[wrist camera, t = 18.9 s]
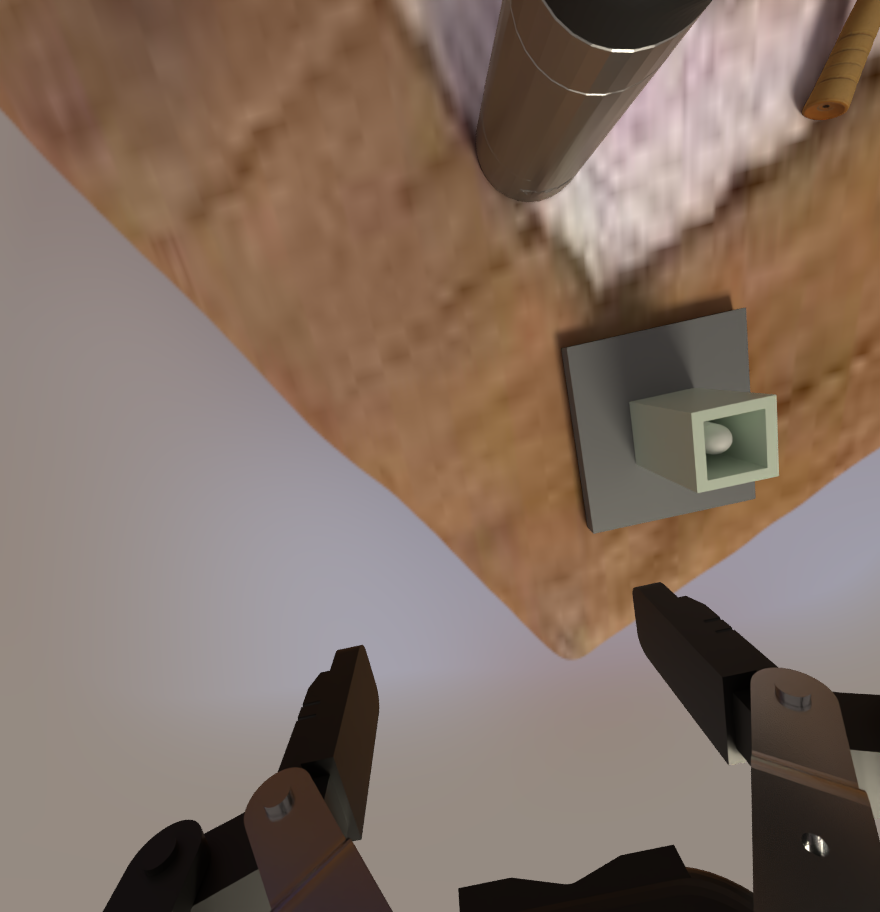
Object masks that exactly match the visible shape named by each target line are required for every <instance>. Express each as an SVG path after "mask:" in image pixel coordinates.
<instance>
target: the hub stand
mask: <svg viewBox="0 0 880 912" xmlns="http://www.w3.org/2000/svg"><path fill="white" fill-rule="evenodd" d="M561 350H562V357H563V364H564V370H565V377H566V384H567V391H568V397H569V404H570V411H571V418H572V424H573V431H574V438H575V445H576V451H577V458H578V465H579V472H580V478H581V485H582V492H583V499H584V505H585V512H586V519H587V526H588V528H589V529H590V530H591V531H592V532H593V533H599V532H603V531H608V530H613V529H617V528H622V527H627V526H631V525H636V524H640V523H645V522H650V521H654V520H659V519H664V518H668V517H673V516H678V515H682V514H687V513H691V512H696V511H701V510H705V509H710V508H715V507H719V506H724V505H728V504H733V503H738V502H742V501H747V500H752V499H755V481H753V482H748V483H744V484H739V485H734V486H730V487H725V488H720V489H715V490H711V491H706V492H701V493H696V492H694V491H692V490H689V489H687V488H685V487H683V486H681V485H679V484H677V483H675V482H673V481H670V480H668V479H666V478H664V477H662V476H660V475H658V474H656V473H654V472H651V471H649V470H647V469H645V468H643V467H641V466H639V465H637V464H636V458H635V449H634V440H633V431H632V422H631V414H630V405H629V402H631V401H636V400H640V399H645V398H649V397H654V396H659V395H663V394H668V393H673V392H677V391H682V390H686V389H691V388H702V389H714V390H726V391H738V392H750V380H749V360H748V340H747V320H746V308H741V309H736V310H731V311H726V312H722V313H717V314H713V315H709V316H704V317H700V318H695V319H691V320H686V321H682V322H677V323H673V324H668V325H664V326H659V327H655V328H650V329H646V330H642V331H637V332H633V333H628V334H624V335H619V336H615V337H610V338H606V339H601V340H597V341H592V342H588V343H583V344H579V345H575V346H570V347H566V348H561ZM703 424H704V438H705V451H706V454H711V455H716V454H720V453H723V452H725V451H726V450H727V449H728V448H729V447H730V446H731V444H732V434H731V432H730V430H729V429H728V428H726V427H725V426H723V425H720V424H716V423H711V422H706V421H705V422H703Z"/></svg>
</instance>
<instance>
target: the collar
mask: <svg viewBox="0 0 880 912" xmlns="http://www.w3.org/2000/svg"><path fill="white" fill-rule="evenodd" d="M629 405H630V414H631V422H632V431H633V440H634V449H635V458H636V464H637V465H639V466H641V467H643V468H645V469H647V470H649V471H651V472H654V473H656V474H658V475H660V476H662V477H664V478H666V479H668V480H670V481H673V482H675V483H677V484H679V485H681V486H683V487H685V488H687V489H689V490H692V491H694V492H696V493H701V492H706V491H711V490H715V489H720V488H725V487H730V486H734V485H739V484H744V483H748V482H753V481H758V480H762V479H767V478H772V477H776V476H779V463H778V432H777V401H776V395H774V394H762V393H750V392H738V391H726V390H714V389H702V388H691V389H686V390H682V391H677V392H673V393H668V394H663V395H659V396H654V397H649V398H645V399H640V400H636V401H631V402H629ZM705 421H706V422H711V423H716V424H720V425H723V426H725V427H726V428H728V429H729V430H730V432H731V434H732V444H731V446H730V447H729V448H728V449H727V450H726V451H725V452H723V453H720V454H716V455H711V454H706V451H705V438H704V424H703V422H705Z"/></svg>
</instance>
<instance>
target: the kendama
mask: <svg viewBox="0 0 880 912" xmlns="http://www.w3.org/2000/svg"><path fill="white" fill-rule="evenodd" d="M879 27H880V0H857V2H856V3H855V5H854V7H853V9H852V11H851V13H850V15H849V17H848V19H847V21H846V23H845V25H844V27H843V29H842V31H841V33H840V35H839V37H838V39H837V41H836V44H835V46H834V48H833V50H832V52H831V54H830V56H829V58H828V60H827V62H826V64H825V66H824V68H823V70H822V73H821V75H820V76H819V78H818V81H817V83H816V85H815V87H814V89H813V91H812V93H811V94H810V96H809V98H808V100H807V102H806V104H805V106H804V108H803V111H802V114H803V116H805V117H806V118H809V119H813V120H827V119H832V118H835V117H838V116H840V115H842V114H844V113H845V112H846V111H847V110H848V108H849V106H850V103H851V100H852V97H853V95H854V92H855V89H856V85H857V83H858V81H859V78H860V76H861V73H862V70H863V68H864V65H865V63H866V60H867V57H868V55H869V52H870V50H871V47H872V45H873V41H874V39H875V37H876V35H877V32H878V30H879Z"/></svg>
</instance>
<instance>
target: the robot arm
mask: <svg viewBox="0 0 880 912" xmlns="http://www.w3.org/2000/svg"><path fill="white" fill-rule="evenodd" d="M711 1H712V0H502V5H501V10H500V14H499V19H498V24H497V29H496V34H495V39H494V43H493V48H492V53H491V58H490V63H489V68H488V72H487V77H486V82H485V88H484V89H485V91H484V94H483V99H482V104H481V109H480V115H479V120H478V125H477V129H476V150H477V157H478V160H479V163H480V166H481V169H482V171H483V173H484V174H485V176H486V178H487V179H488V181H489V182H490V183H491V184H492V185H493V186H494V187H495V188H496V189H497V190H498V191H499V192H501V193H502V194H504V195H505V196H507V197H509V198H512V199H515V200H517V201H524V202H534V201H541V200H544V199H547V198H549V197H552V196H553V195H555V194H557V193H558V192H560V191H561V190H562V189H563V188H564V187H565V186H566V185H568V184H569V183H570V182H571V180H572V179H573V178H574V176H575V175H576V174H577V173H578V171H579V170H580V169H581V167H582V166H583V165H584V164H585V162H586V161H587V160H588V159H589V157H590V156H591V155H592V154H593V152H594V151H595V150H596V149H597V147H598V146H599V145H600V143H601V142H602V141H603V140H604V138H605V137H606V136H607V134H608V133H609V132H610V131H611V129H612V128H613V127H614V126H615V124H616V123H617V122H618V120H619V119H620V118H621V117H622V115H623V114H624V113H625V111H626V110H627V109H628V108H629V106H630V105H631V104H632V102H633V101H634V100H635V99H636V97H637V96H638V95H639V94H640V92H641V91H642V90H643V88H644V87H645V86H646V85H647V83H648V82H649V81H650V79H651V78H652V77H653V76H654V74H655V73H656V72H657V71H658V69H659V68H660V67H661V65H662V64H663V63H664V62H665V60H666V59H667V58H668V56H669V55H670V54H671V52H672V51H673V50H674V48H675V47H676V46H677V45H678V43H679V42H680V41H681V39H682V38H683V37H684V36H685V34H686V33H687V32H688V31H689V29H690V28H691V27H692V25H693V24H694V23H695V22H696V20H697V19H698V18H699V16H700V15H701V14H702V13H703V11H704V10H705V9H706V7H707V6H708V5H709V4H710V2H711ZM632 594H633V602H634V610H635V618H636V625H637V633H638V638H639V641H640V644H641V647H642V649H643V651H644V653H645V655H646V656H647V658H648V659H649V660H650V662H651V663H652V664H653V666H654V667H655V668H656V670H657V671H658V672H659V673H660V675H661V676H662V678H663V679H664V680H665V682H666V683H667V684H668V685H669V687H670V688H671V689H672V691H673V692H674V693H675V695H676V696H677V697H678V699H679V700H680V701H681V703H682V704H683V705H684V707H685V708H686V709H687V711H688V712H689V713H690V715H691V716H692V717H693V719H694V720H695V721H696V723H697V724H698V725H699V726H700V728H701V729H702V731H703V732H704V733H705V735H706V736H707V737H708V738H709V740H710V741H711V742H712V744H713V745H714V746H715V748H716V749H717V750H718V752H719V753H720V754H721V756H722V757H723V758H724V760H725V761H726V762H727V764H728V765H729V766H730V765H735V764H740V763H745V762H748V763H749V765H750V766H751V789H752V842H753V843H752V844H753V892H751V891H749V890H748V889H746V888H744V887H743V886H741V885H739V884H737V883H735V882H733V881H731V880H729V879H727V878H724V877H722V876H719V875H716V874H714V873H711V872H707V871H704V870H700V869H696V868H690V867H685V865H684V863H683V861H682V860H681V858H680V856H679V854H678V852H677V850H676V848H675V846H674V845H670V846H665V847H660V848H655V849H650V850H645V851H640V852H635V853H630V854H625V855H621V856H619V857H617V858H615V859H614V860H612V861H610V862H609V863H607V864H605V865H604V866H602V867H601V868H599V869H597V870H595V871H594V872H592V873H590V874H589V875H587V876H586V877H584V878H582V879H580V880H579V881H577V882H575V883H573V884H557V883H550V882H542V881H534V880H525V879H517V878H507V879H502V880H497V881H492V882H487V883H482V884H477V885H472V886H468V887H463V888H459V889H458V890H459V906H460V912H880V840H879V836H878V832H877V828H876V825H875V820H874V818H875V819H880V695H871V694H853V693H839V692H832V691H831V690H830V689H829V688H828V687H827V686H826V685H824V684H823V683H821V682H820V681H818V680H817V679H815V678H813V677H811V676H809V675H807V674H804V673H801V672H798V671H795V670H791V669H786V668H778V667H777V666H776V665H775V664H774V663H773V662H771V661H770V660H769V659H768V658H766V657H765V656H764V655H763V654H762V653H761V652H760V651H758V650H757V649H756V648H755V647H754V646H753V645H752V644H750V643H749V642H748V641H747V640H746V639H744V638H743V637H742V636H741V635H740V634H739V633H737V632H736V631H735V630H732V627H731V626H729V625H728V624H727V623H726V622H724V620H721V619H720V617H719V616H718V615H717V614H716V613H714V612H713V611H712V610H711V609H710V608H709V607H707V606H706V605H705V604H703V603H700V602H698V601H696V600H694V599H692V598H689V597H687V596H683V597H677V596H676V595H675V594H674V593H673V592H672V591H670V590H669V589H668V588H667V587H666V586H665V585H664V584H663V583H661V582H658V583H653V584H649V585H644V586H639V587H635V588H633V593H632ZM378 716H379V696H378V691H377V686H376V683H375V680H374V676H373V673H372V670H371V666H370V663H369V659H368V656H367V653H366V650H365V647H364V646H363V645H360V646H354V647H350V648H346V649H340V650H337V651H336V653H335V657H334V660H333V663H332V666H331V669H330V671H326V672H321V673H320V674H319V675H318V677H317V678H316V679H315V681H314V682H313V683H312V685H311V686H310V687H309V689H308V691H307V694H306V696H305V699H304V702H303V707H301V710H300V713H299V716H298V721H297V722H296V724H295V727H294V729H293V732H292V735H291V738H290V741H289V743H288V746H287V748H286V751H285V754H284V757H283V759H282V762H281V765H280V768H279V770H278V773H276V774H274V775H273V776H271V777H270V778H268V779H267V780H266V781H265V782H264V783H263V784H262V785H261V786H260V787H259V788H258V789H257V790H256V792H255V793H254V794H253V796H252V797H251V799H250V801H249V803H248V805H247V807H246V810H245V812H244V813H243V814H241V815H239V816H237V817H235V818H233V819H231V820H230V821H228V822H226V823H224V824H222V825H220V826H218V827H216V828H214V829H212V830H210V831H209V832H207V833H205V834H204V833H203V831H202V829H201V826H200V825H199V823H197V822H196V821H193V820H183V821H179V822H176V823H174V824H172V825H170V826H168V827H166V828H165V829H163V830H162V831H160V832H159V833H157V834H156V835H155V836H154V837H153V838H151V839H150V840H149V841H148V842H147V843H146V844H145V845H144V846H143V847H142V848H141V849H140V851H139V852H138V853H137V854H136V855H135V857H134V858H133V860H132V861H131V863H130V864H129V866H128V867H127V869H126V871H125V873H124V874H123V876H122V878H121V880H120V882H119V883H118V885H117V887H116V889H115V891H114V892H113V894H112V896H111V898H110V900H109V901H108V903H107V905H106V907H105V909H104V911H103V912H393V911H392V909H391V908H390V906H389V904H388V902H387V901H386V899H385V897H384V896H383V894H382V892H381V890H380V889H379V887H378V885H377V883H376V882H375V880H374V878H373V876H372V875H371V873H370V871H369V870H368V868H367V866H366V864H365V862H364V861H363V859H362V857H361V855H360V854H359V852H358V850H357V848H356V847H355V845H354V844H353V842H352V841H356V840H361V839H362V832H363V825H364V817H365V810H366V803H367V795H368V788H369V781H370V774H371V766H372V759H373V752H374V745H375V738H376V730H377V723H378Z"/></svg>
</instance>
